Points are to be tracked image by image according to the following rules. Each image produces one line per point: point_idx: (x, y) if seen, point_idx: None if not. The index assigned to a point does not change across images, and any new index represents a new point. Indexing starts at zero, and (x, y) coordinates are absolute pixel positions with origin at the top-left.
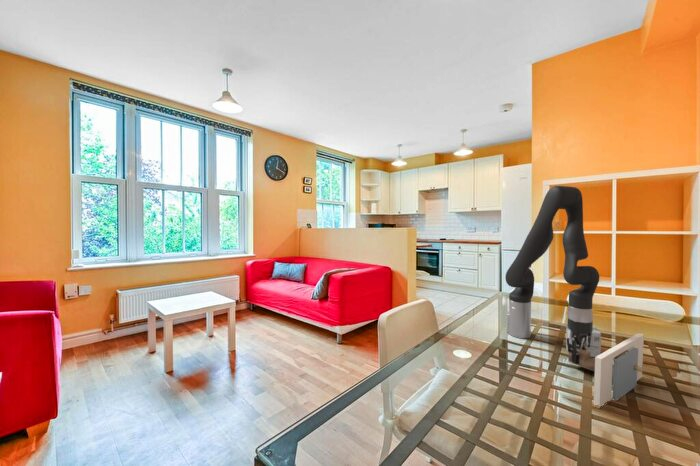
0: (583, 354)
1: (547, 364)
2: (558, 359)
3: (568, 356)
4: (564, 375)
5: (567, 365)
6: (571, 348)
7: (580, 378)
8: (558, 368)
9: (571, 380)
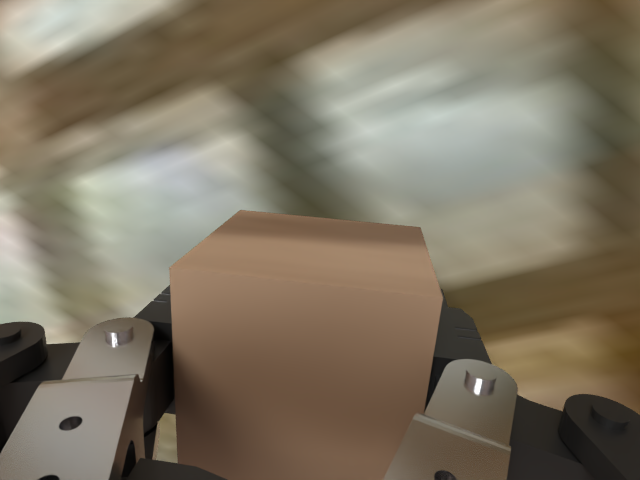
0: (216, 466)
1: (119, 13)
2: (368, 36)
3: (215, 230)
4: (64, 231)
5: (295, 173)
6: (71, 374)
7: None
8: (142, 138)
9: (40, 299)
